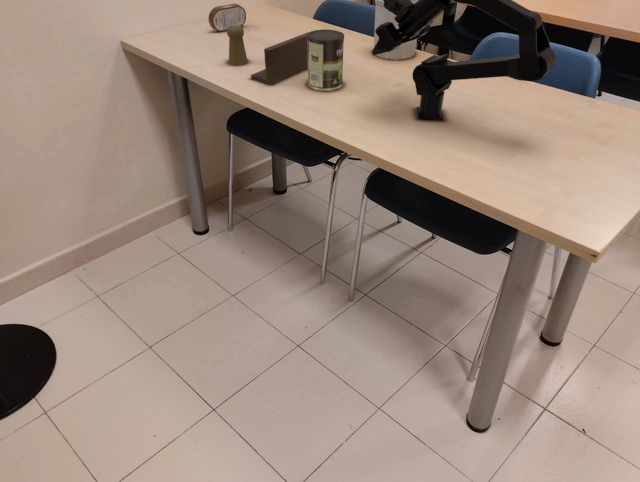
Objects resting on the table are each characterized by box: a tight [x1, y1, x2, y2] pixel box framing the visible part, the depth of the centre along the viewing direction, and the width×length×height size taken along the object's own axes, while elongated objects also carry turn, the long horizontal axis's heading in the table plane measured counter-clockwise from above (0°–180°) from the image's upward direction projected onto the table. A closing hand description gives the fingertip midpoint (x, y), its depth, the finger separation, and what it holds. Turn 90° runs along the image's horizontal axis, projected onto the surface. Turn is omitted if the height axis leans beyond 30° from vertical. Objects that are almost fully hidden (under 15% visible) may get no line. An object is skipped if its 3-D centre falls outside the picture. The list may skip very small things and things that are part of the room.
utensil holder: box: [373, 0, 418, 61], centre depth 163 cm, size 15×15×18 cm
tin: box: [208, 3, 247, 32], centre depth 186 cm, size 15×3×8 cm, turn 130°
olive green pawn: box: [226, 25, 249, 66], centre depth 158 cm, size 6×6×11 cm
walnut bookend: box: [250, 31, 310, 86], centre depth 151 cm, size 8×20×10 cm, turn 143°
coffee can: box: [307, 28, 345, 92], centre depth 142 cm, size 10×10×14 cm
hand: (381, 49), depth 130 cm, fingers open, 8 cm apart
